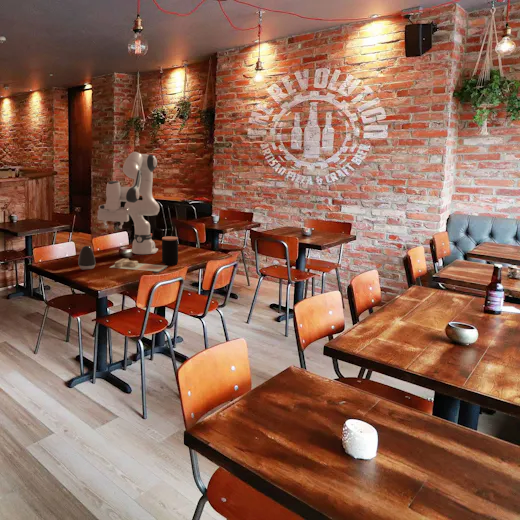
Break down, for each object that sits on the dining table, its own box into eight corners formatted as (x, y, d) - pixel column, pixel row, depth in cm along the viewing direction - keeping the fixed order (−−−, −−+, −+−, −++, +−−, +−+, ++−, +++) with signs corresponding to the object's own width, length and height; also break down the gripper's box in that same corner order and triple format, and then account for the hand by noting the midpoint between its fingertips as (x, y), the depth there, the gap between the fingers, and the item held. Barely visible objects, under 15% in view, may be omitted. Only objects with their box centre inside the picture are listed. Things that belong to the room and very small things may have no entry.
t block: (114, 267, 295) (114, 262, 294) (123, 262, 307) (123, 258, 306) (132, 268, 293) (132, 263, 293) (140, 264, 305) (140, 259, 304)
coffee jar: (172, 261, 322) (172, 235, 318) (181, 264, 314) (181, 238, 310) (159, 263, 314) (158, 237, 310) (167, 266, 307) (167, 239, 303)
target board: (120, 263, 309) (120, 261, 309) (167, 267, 304) (167, 265, 304) (109, 269, 294) (109, 267, 294) (158, 273, 289) (158, 271, 289)
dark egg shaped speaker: (98, 268, 295) (97, 244, 292) (91, 272, 285) (90, 247, 282) (83, 267, 296) (82, 243, 293) (75, 271, 286) (74, 246, 283)
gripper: (130, 207, 298) (130, 228, 300) (101, 205, 301) (101, 226, 303) (126, 207, 292) (126, 229, 294) (96, 205, 295) (96, 227, 297)
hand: (113, 228), depth 298 cm, fingers open, 8 cm apart
